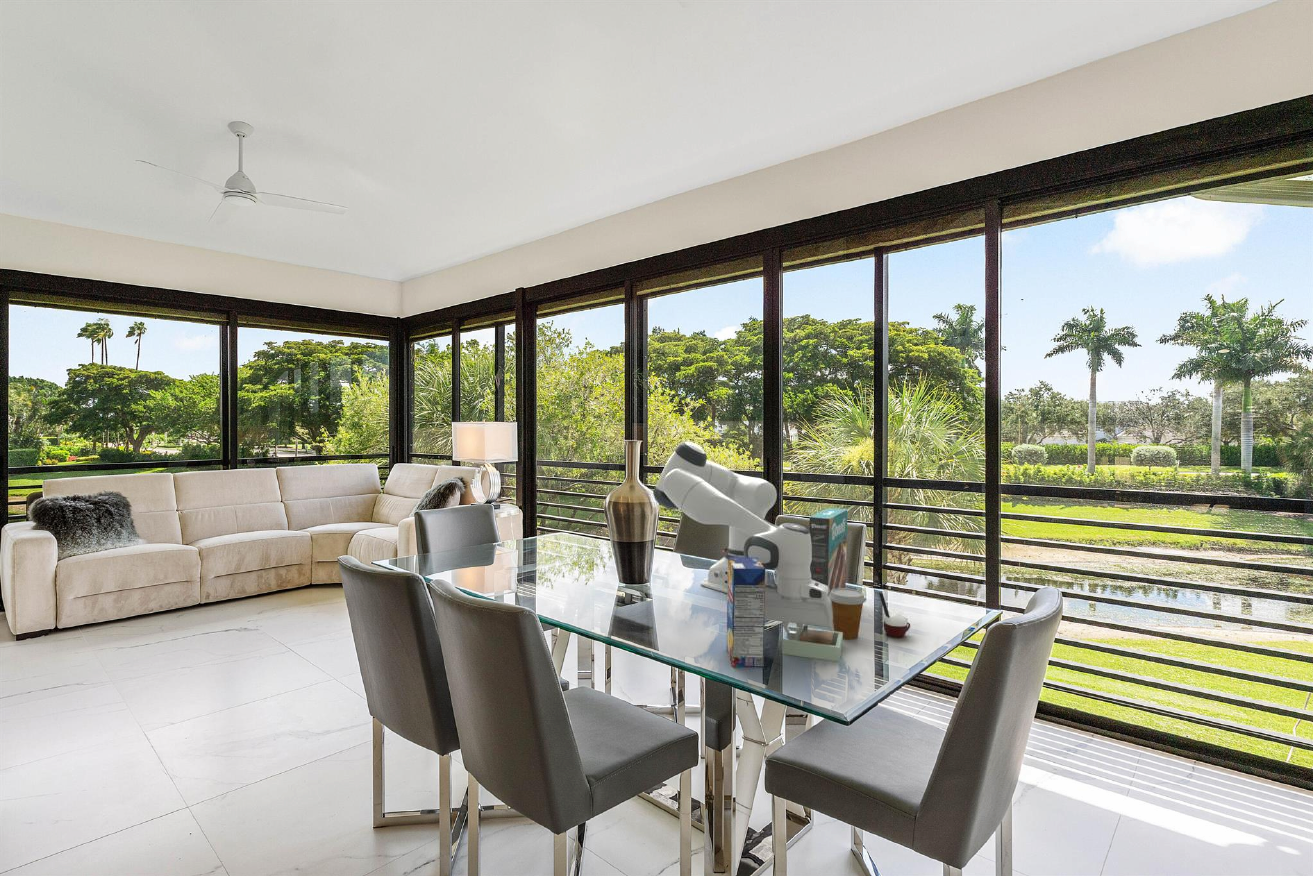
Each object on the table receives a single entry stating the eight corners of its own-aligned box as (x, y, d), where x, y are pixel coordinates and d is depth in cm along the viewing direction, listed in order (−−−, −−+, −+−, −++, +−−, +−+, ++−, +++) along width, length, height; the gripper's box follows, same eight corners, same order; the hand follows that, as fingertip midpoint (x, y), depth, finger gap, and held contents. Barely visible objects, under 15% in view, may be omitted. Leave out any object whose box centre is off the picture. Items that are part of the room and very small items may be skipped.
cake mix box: (827, 619, 194) (829, 518, 193) (807, 615, 197) (809, 516, 196) (845, 600, 213) (847, 509, 212) (826, 597, 216) (829, 507, 215)
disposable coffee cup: (821, 632, 182) (822, 589, 182) (848, 627, 186) (849, 586, 186) (843, 643, 174) (844, 598, 173) (871, 638, 177) (872, 595, 177)
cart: (798, 653, 166) (799, 630, 166) (802, 643, 173) (803, 621, 173) (831, 657, 164) (831, 634, 163) (833, 647, 171) (834, 625, 170)
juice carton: (726, 649, 168) (728, 557, 167) (755, 649, 168) (757, 557, 167) (732, 667, 156) (734, 568, 155) (763, 668, 156) (765, 568, 155)
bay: (782, 653, 166) (782, 640, 166) (789, 638, 177) (789, 625, 177) (839, 661, 161) (839, 647, 161) (842, 645, 172) (842, 632, 172)
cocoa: (908, 634, 183) (911, 591, 183) (913, 641, 177) (916, 597, 176) (873, 630, 184) (876, 588, 184) (877, 637, 178) (880, 593, 178)
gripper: (751, 585, 171) (750, 637, 171) (832, 593, 164) (831, 647, 165) (756, 579, 177) (755, 629, 177) (834, 587, 170) (833, 639, 171)
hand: (792, 638), depth 171 cm, fingers closed
